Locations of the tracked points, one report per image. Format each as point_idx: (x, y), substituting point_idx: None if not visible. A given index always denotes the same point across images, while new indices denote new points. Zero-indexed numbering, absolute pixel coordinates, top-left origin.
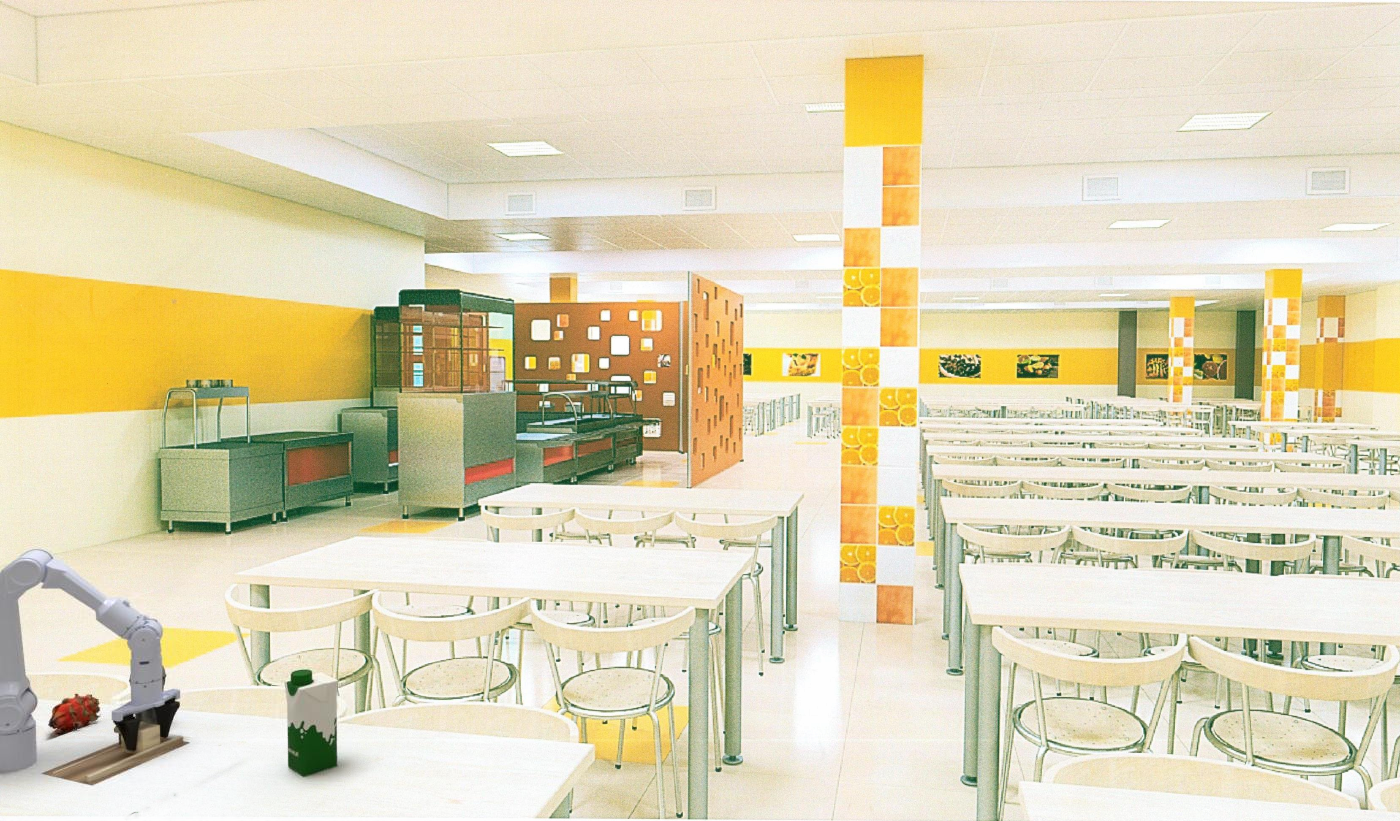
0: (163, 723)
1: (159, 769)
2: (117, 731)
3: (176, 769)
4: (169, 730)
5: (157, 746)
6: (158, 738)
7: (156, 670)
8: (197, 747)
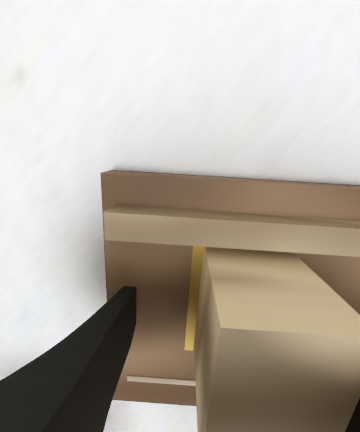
0: (112, 356)
1: (318, 125)
2: None
3: (306, 43)
4: (111, 298)
5: (242, 235)
6: (219, 268)
7: None
8: (85, 157)
